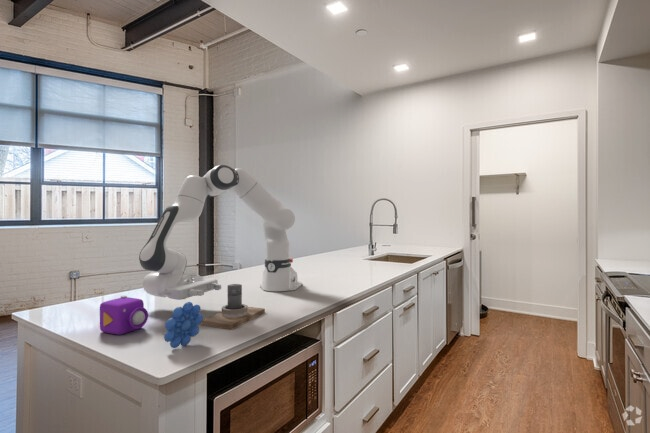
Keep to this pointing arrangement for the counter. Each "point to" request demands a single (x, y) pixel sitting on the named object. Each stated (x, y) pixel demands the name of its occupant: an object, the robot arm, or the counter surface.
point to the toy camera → (122, 315)
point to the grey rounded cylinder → (234, 296)
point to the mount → (232, 317)
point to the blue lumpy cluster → (183, 325)
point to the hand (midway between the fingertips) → (211, 290)
